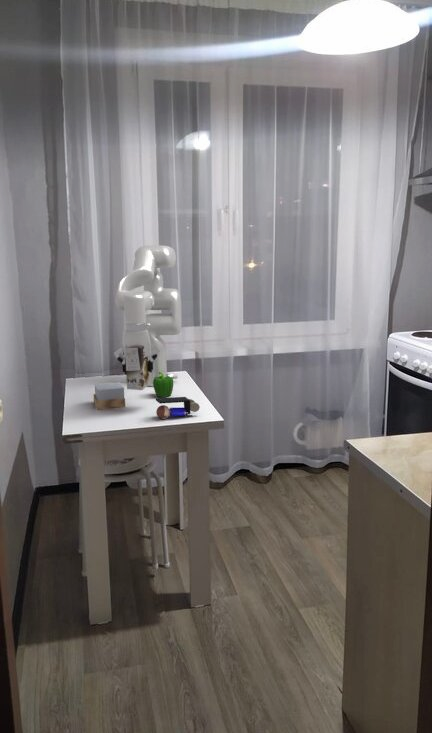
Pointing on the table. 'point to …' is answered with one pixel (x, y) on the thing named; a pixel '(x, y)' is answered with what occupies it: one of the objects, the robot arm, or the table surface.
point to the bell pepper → (163, 385)
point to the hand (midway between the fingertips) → (138, 372)
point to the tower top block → (109, 391)
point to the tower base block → (109, 403)
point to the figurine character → (165, 411)
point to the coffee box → (136, 368)
